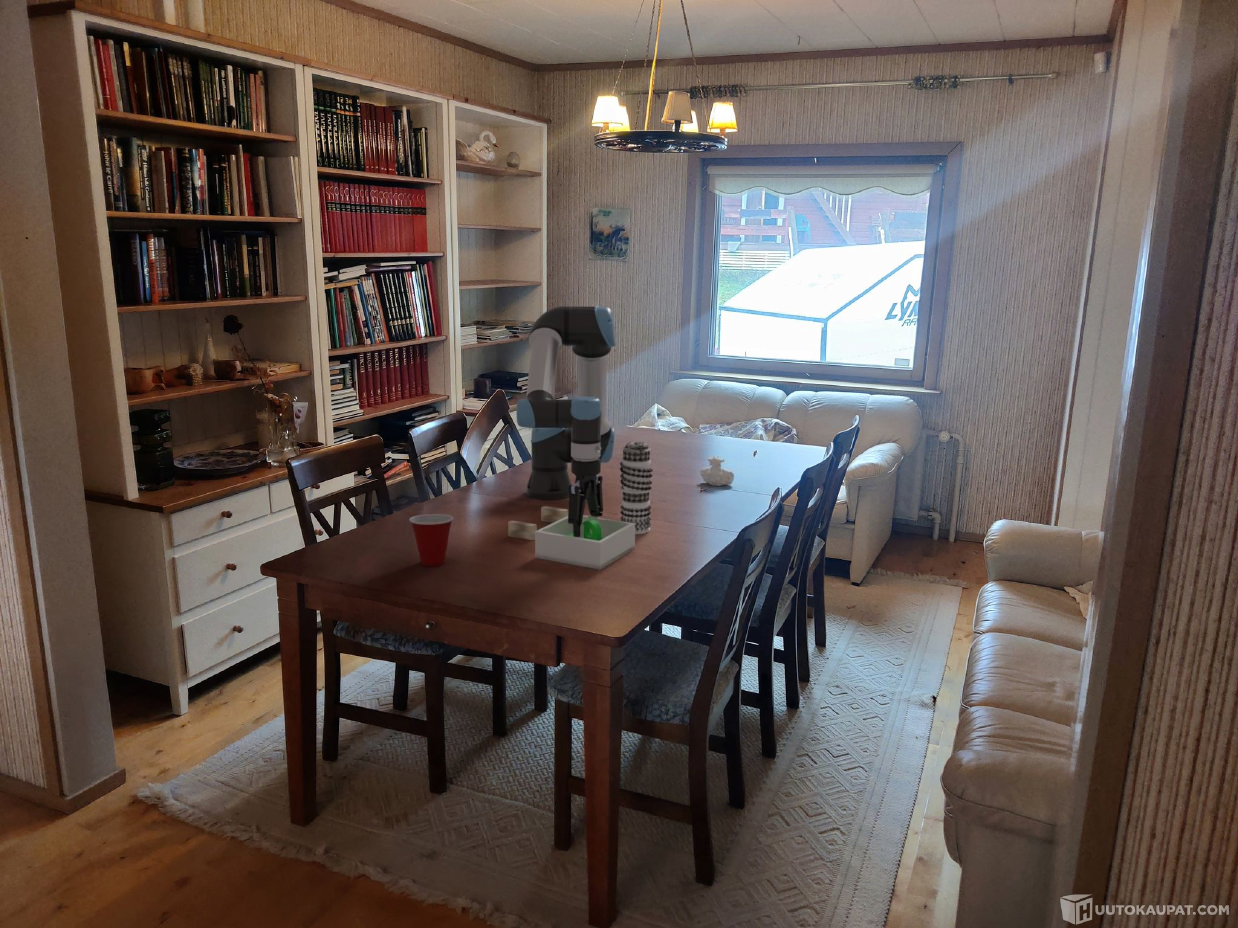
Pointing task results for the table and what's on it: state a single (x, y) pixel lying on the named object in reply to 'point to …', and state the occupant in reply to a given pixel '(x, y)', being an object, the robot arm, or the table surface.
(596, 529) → the mechanical part
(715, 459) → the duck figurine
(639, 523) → the decorative candle
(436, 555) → the plastic cup
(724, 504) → the table surface
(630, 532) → the bin
